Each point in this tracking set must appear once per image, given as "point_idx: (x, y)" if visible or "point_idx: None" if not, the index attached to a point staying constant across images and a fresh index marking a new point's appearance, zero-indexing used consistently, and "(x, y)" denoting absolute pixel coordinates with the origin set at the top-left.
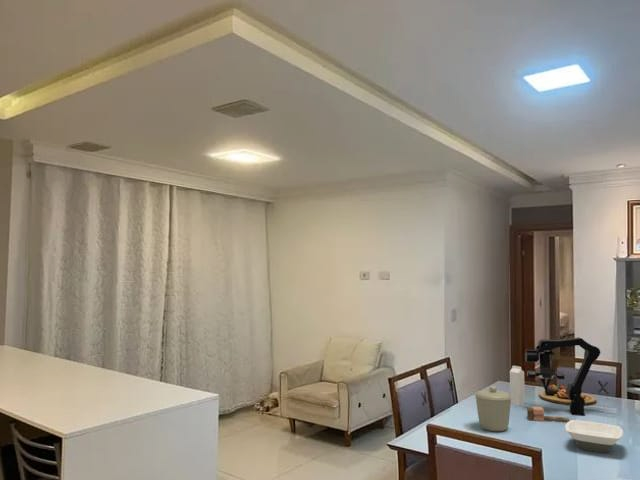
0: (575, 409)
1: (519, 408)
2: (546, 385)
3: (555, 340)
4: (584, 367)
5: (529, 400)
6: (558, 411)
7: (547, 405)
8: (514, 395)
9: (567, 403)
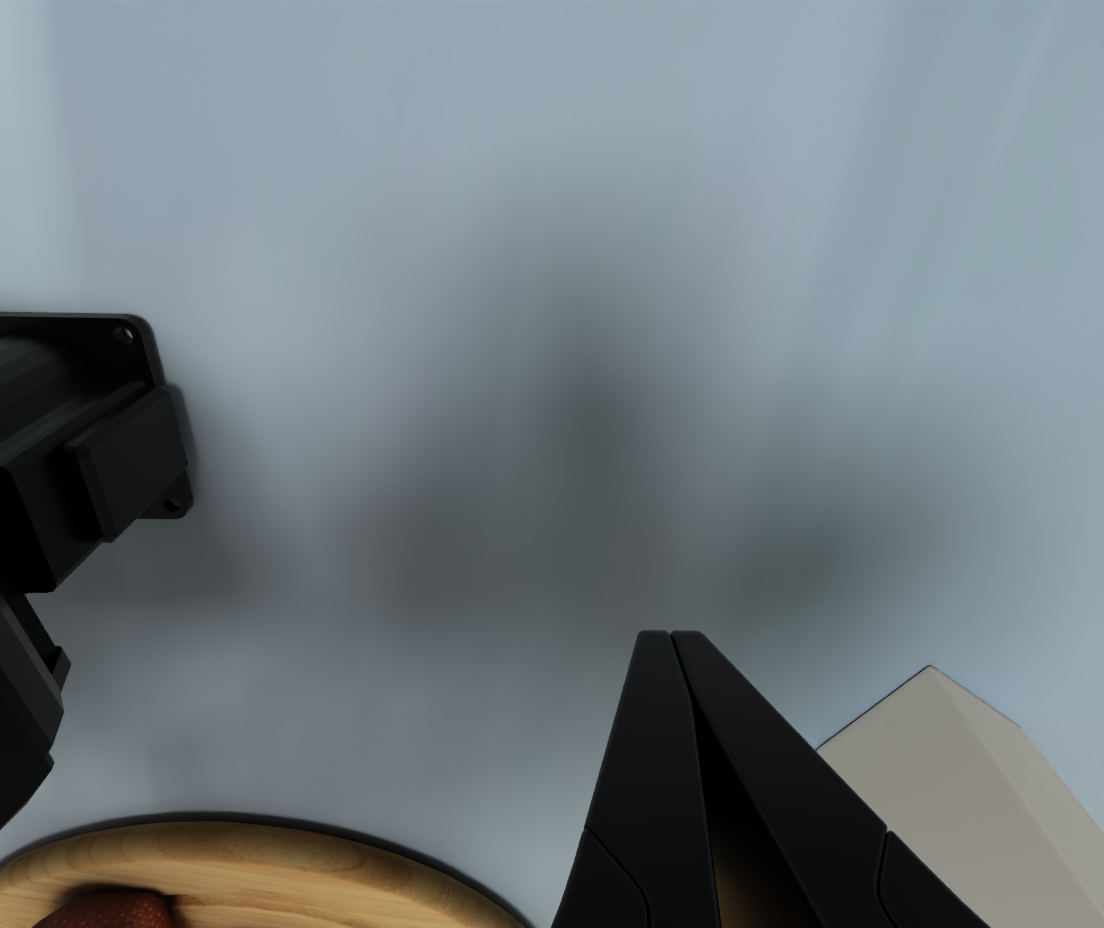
0: (17, 371)
1: (1007, 494)
2: (701, 804)
3: None
4: None
5: None
6: (383, 482)
7: (516, 743)
8: (1067, 817)
9: (244, 830)
